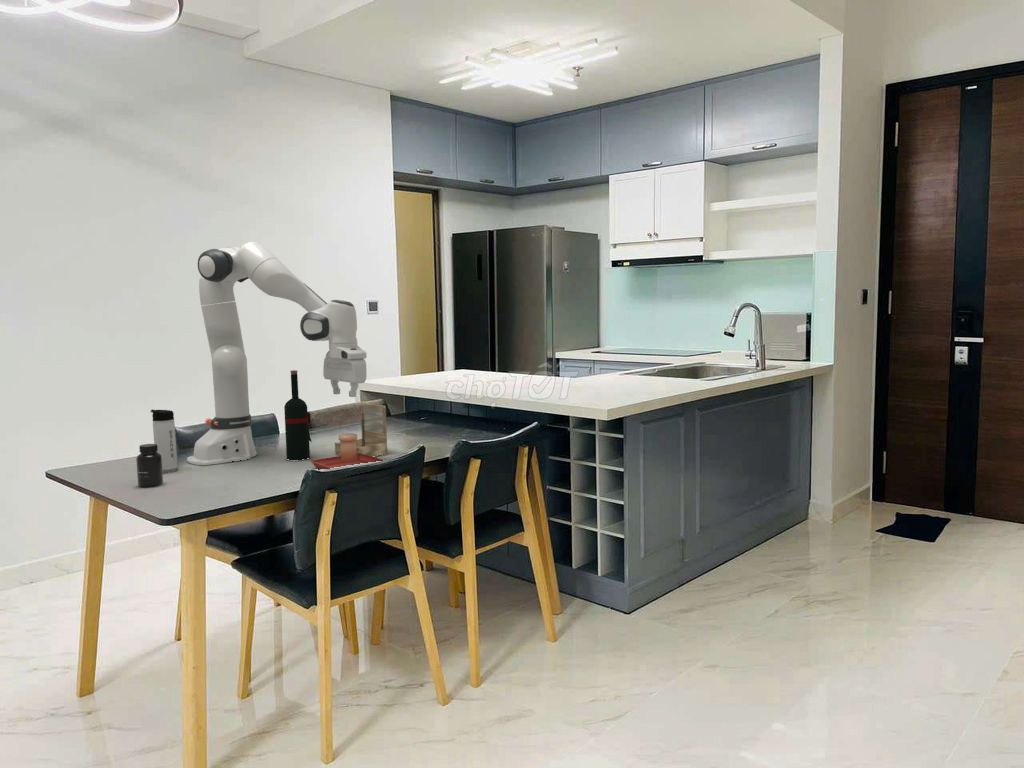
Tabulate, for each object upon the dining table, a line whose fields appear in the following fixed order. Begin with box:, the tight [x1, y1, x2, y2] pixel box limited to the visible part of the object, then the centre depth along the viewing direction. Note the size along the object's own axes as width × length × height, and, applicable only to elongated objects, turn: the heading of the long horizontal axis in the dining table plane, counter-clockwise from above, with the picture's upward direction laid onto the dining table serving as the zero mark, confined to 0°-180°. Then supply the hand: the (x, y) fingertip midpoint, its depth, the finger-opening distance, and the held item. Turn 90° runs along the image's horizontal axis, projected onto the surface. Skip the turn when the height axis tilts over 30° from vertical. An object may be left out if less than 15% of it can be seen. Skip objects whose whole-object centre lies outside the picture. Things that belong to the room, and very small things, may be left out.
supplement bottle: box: [136, 443, 164, 488], centre depth 226 cm, size 7×7×12 cm
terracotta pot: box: [338, 432, 358, 462], centre depth 242 cm, size 6×6×8 cm
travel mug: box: [150, 409, 179, 474], centre depth 243 cm, size 6×7×20 cm
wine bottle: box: [284, 370, 313, 461], centre depth 259 cm, size 8×10×30 cm
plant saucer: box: [310, 453, 384, 470], centre depth 243 cm, size 18×18×3 cm
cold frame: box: [334, 402, 388, 457], centre depth 264 cm, size 12×14×17 cm
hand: (344, 395), depth 243 cm, fingers open, 8 cm apart
